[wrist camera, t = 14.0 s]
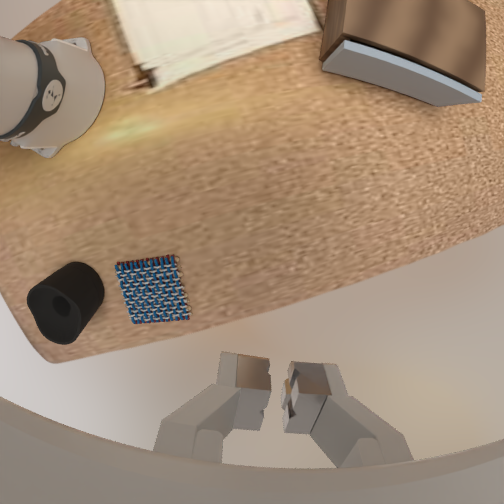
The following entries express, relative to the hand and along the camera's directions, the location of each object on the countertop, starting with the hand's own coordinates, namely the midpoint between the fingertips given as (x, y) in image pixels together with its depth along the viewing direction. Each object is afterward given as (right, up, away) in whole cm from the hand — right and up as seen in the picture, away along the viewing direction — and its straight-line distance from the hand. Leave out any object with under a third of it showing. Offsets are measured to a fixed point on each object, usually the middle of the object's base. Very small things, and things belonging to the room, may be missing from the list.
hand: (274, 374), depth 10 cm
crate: (+18, +33, +25) cm, 45 cm away
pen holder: (-28, -1, +37) cm, 46 cm away
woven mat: (-15, -2, +37) cm, 41 cm away
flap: (+17, +26, +26) cm, 41 cm away
